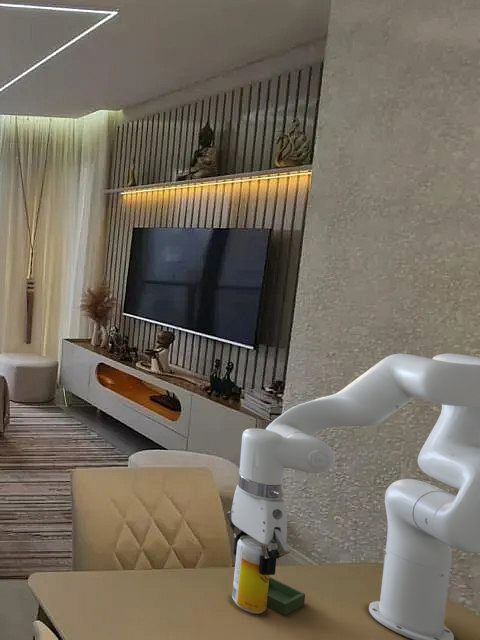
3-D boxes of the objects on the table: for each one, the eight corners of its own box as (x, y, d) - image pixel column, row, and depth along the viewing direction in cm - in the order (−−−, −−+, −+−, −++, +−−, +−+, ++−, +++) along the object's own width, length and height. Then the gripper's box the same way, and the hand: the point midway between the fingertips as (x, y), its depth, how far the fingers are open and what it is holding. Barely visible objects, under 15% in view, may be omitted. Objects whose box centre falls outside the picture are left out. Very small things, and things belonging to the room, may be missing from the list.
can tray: (259, 582, 129) (260, 572, 129) (304, 604, 121) (305, 593, 121) (239, 591, 125) (240, 581, 125) (284, 615, 117) (285, 604, 117)
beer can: (271, 617, 116) (278, 552, 115) (240, 612, 118) (246, 548, 116) (256, 598, 122) (262, 536, 121) (226, 594, 124) (232, 533, 122)
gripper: (312, 505, 109) (305, 589, 111) (243, 469, 127) (238, 542, 128) (278, 505, 109) (271, 589, 110) (213, 469, 126) (208, 543, 127)
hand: (253, 563), depth 119 cm, fingers closed on beer can, 6 cm apart
